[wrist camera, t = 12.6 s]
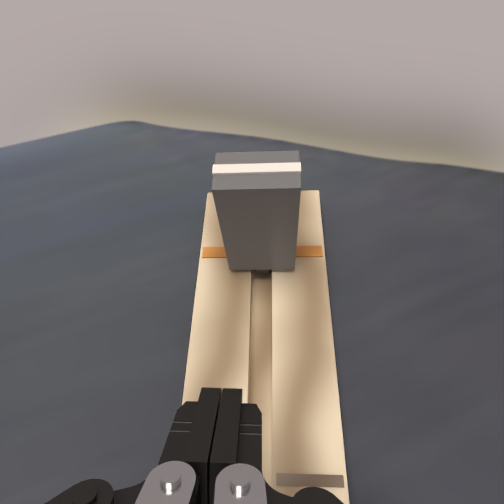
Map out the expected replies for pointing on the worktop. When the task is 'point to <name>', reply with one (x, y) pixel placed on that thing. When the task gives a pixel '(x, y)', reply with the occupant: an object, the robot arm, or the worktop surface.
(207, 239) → the fader board
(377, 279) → the worktop surface
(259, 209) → the fader knob
